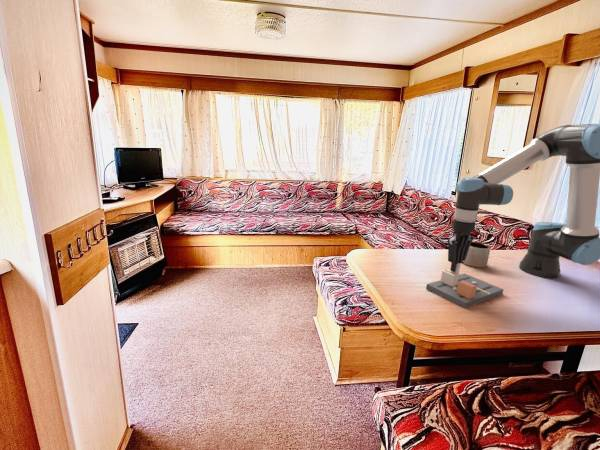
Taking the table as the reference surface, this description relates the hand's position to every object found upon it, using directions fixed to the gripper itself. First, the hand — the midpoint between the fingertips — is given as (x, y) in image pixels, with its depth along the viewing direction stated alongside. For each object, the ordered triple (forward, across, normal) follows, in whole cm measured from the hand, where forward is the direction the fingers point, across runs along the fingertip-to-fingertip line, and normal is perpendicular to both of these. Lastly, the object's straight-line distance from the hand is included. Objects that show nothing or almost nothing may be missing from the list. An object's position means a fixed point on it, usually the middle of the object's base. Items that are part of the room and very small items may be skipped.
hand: (453, 278), depth 124 cm
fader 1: (+2, +2, 0) cm, 3 cm away
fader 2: (+2, +6, +9) cm, 11 cm away
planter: (+4, -34, -12) cm, 36 cm away
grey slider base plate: (+4, -1, +4) cm, 6 cm away
